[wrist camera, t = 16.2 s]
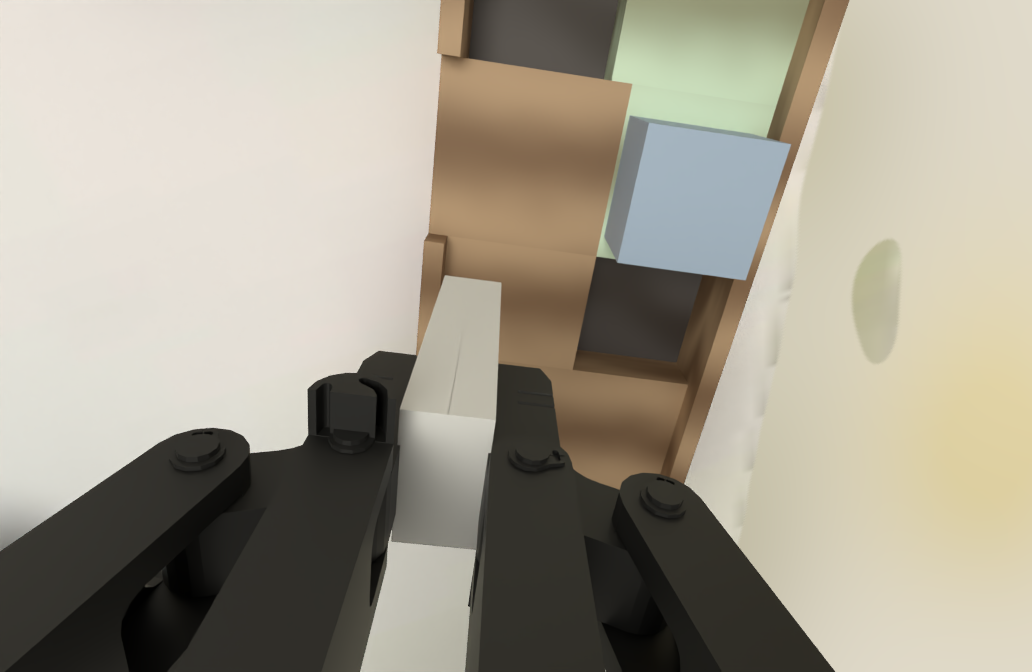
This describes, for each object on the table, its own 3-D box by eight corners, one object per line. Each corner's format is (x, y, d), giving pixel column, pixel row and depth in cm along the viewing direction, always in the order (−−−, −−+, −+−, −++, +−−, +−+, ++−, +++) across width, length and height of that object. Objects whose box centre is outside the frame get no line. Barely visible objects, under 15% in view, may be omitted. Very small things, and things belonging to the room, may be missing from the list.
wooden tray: (654, 478, 40) (669, 524, 36) (418, 450, 39) (406, 494, 35) (828, -79, 26) (885, -107, 22) (464, -142, 25) (453, -184, 21)
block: (714, 251, 29) (745, 280, 25) (603, 236, 29) (617, 262, 25) (750, 133, 27) (791, 144, 23) (629, 115, 27) (648, 122, 23)
